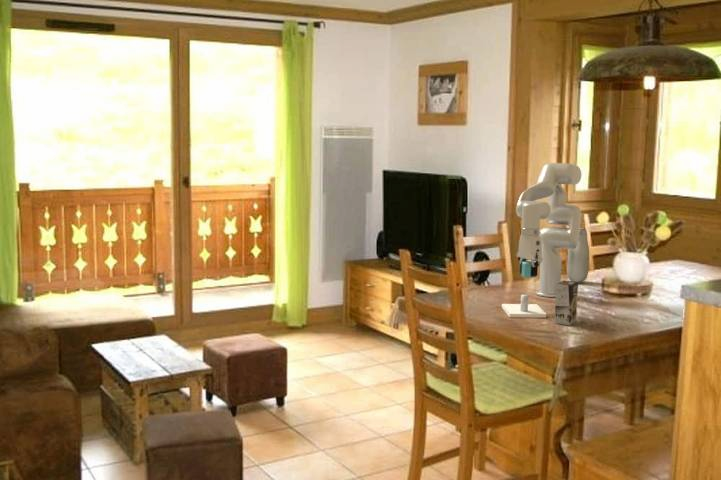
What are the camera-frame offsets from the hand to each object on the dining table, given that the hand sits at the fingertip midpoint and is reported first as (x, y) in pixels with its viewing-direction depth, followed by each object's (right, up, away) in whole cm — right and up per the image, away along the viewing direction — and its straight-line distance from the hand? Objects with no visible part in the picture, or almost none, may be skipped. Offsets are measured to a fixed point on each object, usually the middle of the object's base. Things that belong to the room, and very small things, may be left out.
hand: (528, 274), depth 329 cm
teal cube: (0, -1, 0) cm, 1 cm away
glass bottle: (+38, -7, +63) cm, 74 cm away
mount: (-3, -16, -2) cm, 16 cm away
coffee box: (+11, -18, -18) cm, 28 cm away
